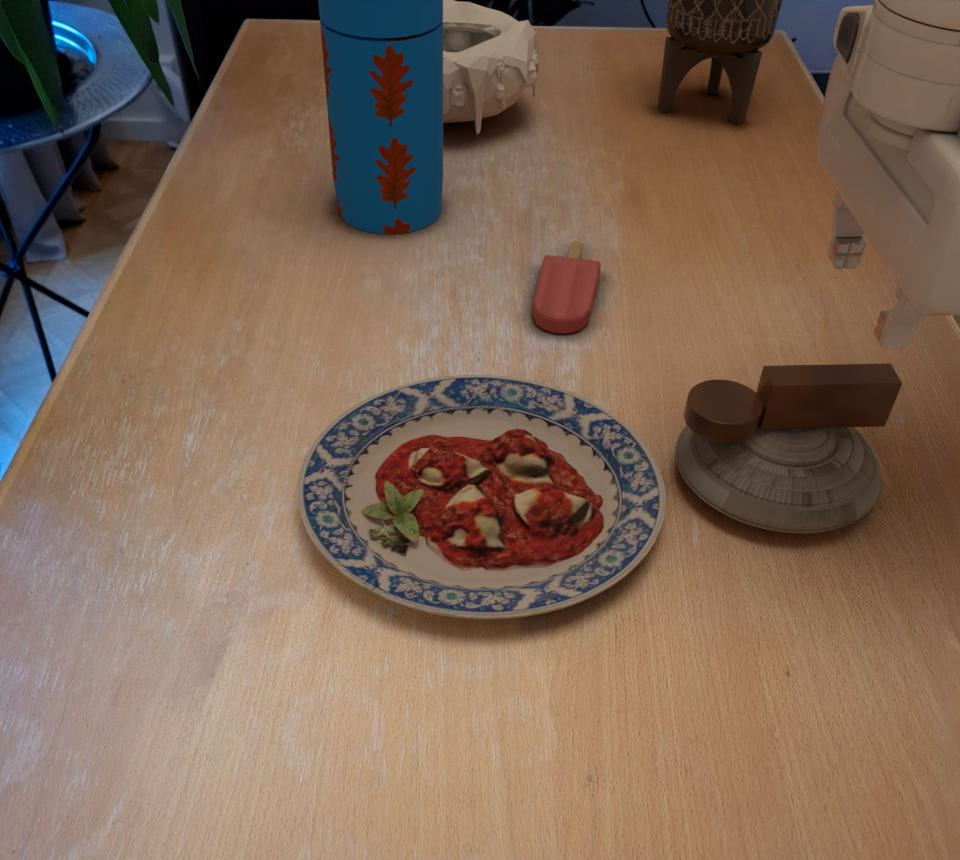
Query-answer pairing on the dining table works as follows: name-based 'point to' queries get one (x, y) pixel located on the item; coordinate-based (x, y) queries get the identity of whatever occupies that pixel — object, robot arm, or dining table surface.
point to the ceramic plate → (481, 496)
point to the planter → (717, 46)
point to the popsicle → (565, 291)
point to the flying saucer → (784, 477)
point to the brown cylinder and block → (794, 400)
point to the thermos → (385, 110)
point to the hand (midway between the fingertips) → (864, 301)
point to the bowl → (484, 61)
